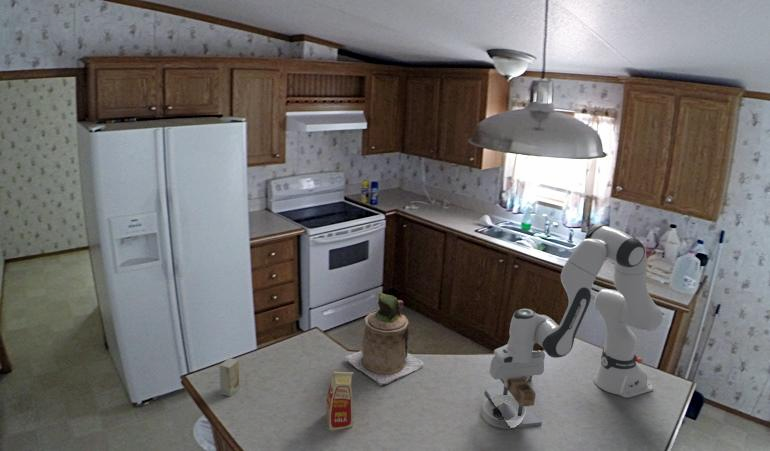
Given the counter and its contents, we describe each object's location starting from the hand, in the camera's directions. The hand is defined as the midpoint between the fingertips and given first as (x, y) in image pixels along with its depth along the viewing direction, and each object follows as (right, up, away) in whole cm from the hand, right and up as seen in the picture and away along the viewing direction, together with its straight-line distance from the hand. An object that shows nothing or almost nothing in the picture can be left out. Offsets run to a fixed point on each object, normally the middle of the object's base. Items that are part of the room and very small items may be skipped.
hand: (514, 385), depth 198 cm
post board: (0, -9, +3) cm, 10 cm away
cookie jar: (-48, +1, +28) cm, 56 cm away
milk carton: (-64, -10, -8) cm, 65 cm away
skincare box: (-106, -4, +5) cm, 106 cm away
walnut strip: (0, -2, 0) cm, 2 cm away
